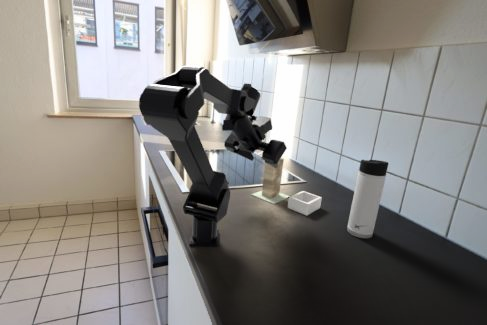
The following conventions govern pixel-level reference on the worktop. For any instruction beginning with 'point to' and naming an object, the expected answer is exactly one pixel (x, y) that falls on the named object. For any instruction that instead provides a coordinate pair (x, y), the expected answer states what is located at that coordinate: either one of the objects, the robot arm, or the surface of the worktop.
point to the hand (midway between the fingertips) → (264, 163)
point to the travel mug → (367, 198)
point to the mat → (272, 200)
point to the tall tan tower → (272, 180)
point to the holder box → (304, 202)
